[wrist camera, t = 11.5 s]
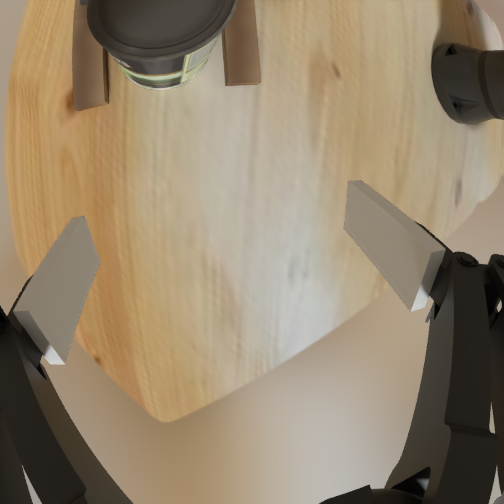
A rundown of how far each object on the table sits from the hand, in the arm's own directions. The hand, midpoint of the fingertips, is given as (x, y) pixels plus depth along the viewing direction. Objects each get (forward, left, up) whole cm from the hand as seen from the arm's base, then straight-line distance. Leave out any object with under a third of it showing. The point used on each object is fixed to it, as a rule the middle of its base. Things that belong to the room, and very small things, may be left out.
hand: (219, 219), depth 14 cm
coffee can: (+2, -15, -20) cm, 25 cm away
